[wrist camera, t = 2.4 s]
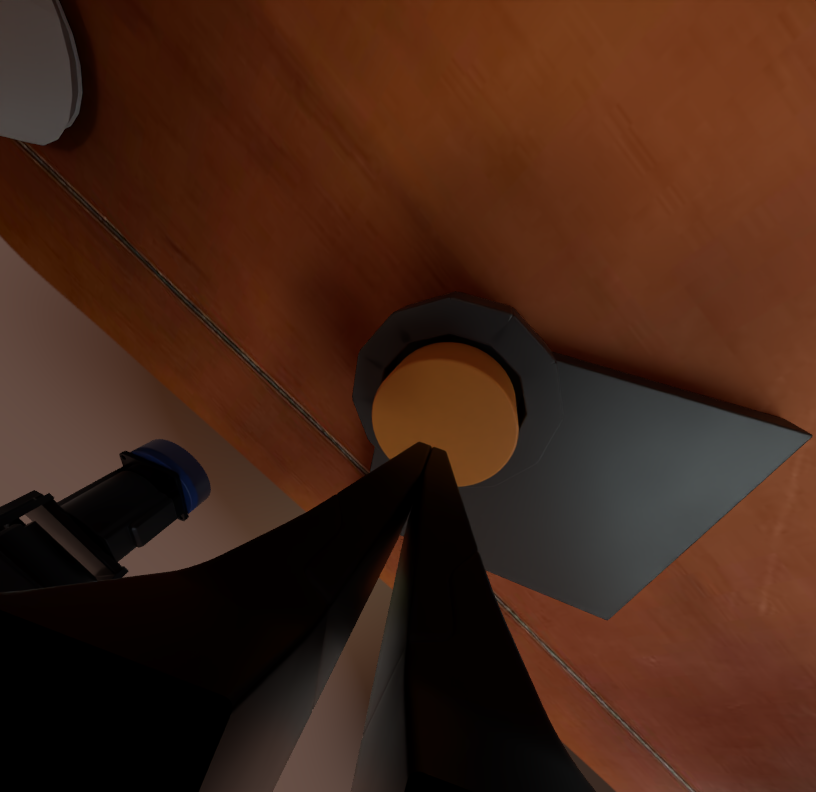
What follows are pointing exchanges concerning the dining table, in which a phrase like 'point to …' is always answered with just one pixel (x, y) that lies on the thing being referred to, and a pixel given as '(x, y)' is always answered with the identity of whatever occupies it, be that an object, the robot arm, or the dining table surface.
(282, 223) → the dining table surface
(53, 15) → the can
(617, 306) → the dining table surface
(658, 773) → the dining table surface
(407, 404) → the button
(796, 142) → the dining table surface
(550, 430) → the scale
